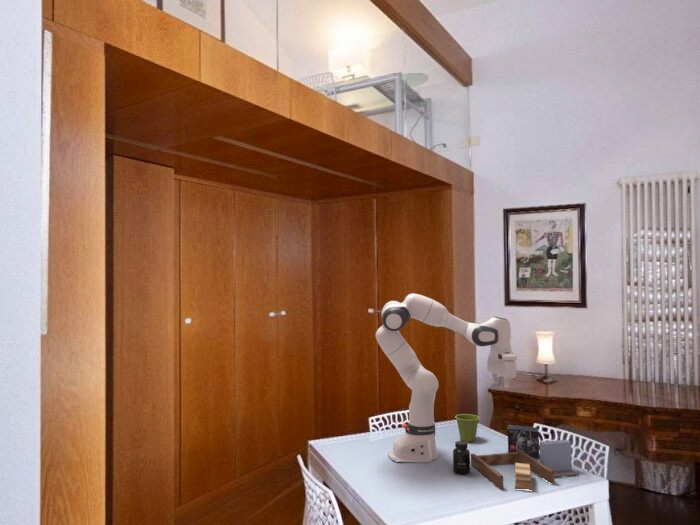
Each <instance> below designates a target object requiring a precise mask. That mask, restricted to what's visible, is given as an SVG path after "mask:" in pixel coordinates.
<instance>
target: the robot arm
mask: <svg viewBox="0 0 700 525" xmlns="http://www.w3.org/2000/svg"><path fill="white" fill-rule="evenodd" d="M380 316H381V323H382V325H381V326H380V327H378V329H377V331H376V332H375V339H376V341H377V343H378V345H379V347H380V348H381V350H382V352H384V354H385V356H386V357H387V358H388V360H389V361H390V362H391V364H392V365H393V366H394V368H395V369H396V371H397V373H398V374H399V376H400V378H402V380H403V382H404V383H405V385H406V386H407V388H409V389H411V397H410V402H409V405H408V415H409V416H408V420H409V421H408V423H405V422H403V423H402V424H401V427H402V428H403V429H404V430H405V431H404V432H403V433H402V434H401V435H400V436H399V437H397V438H396V439H395V440H394V441H393V444H392V449H391V450H389V451H388V452H387V456H388V455H389V457H390V458H391V459H393V460H394V461H397V462H415V463H431V462H433V460H435V459H437V458H438V457H439V453H438V449H437V445H436V443H437V442H436V424H435V421H434V420H435V416H434V415H435V413H434V409H435V407H434V406H435V400H436V395H437V394H436V393H437V391H438V389H439V380H438V378H437V377H436V376H435V374H434V373H433V372H431V371H430V370H428V369H426V368H425V367H424V366H423V365H422V363H421V362H420V360H419V359H418V357H417V354H416V352H415V351H414V349H413V348H412V347H411V346H410V344H409V343H408V342H407V340H406V339H405V337H404V336H403V335H402V334H401V332H400V330H402V329H403V328H404V327H405V326H406V325H407V324H408V322H409V321H410V320H411V319H415V320H418V321H419V322H421V323H423V324H425V325H429V326H433V327H436V328H439V327H442V328H446V329H450V330H451V331H453V332H456V333H458V334H460V335H461V336H463V338H464V339H465V340H466V341H467V342H468V343H469V344H472V345H475V346H477V347H487V346H489V347H490V351H489V352H490V353H489V354H488V357H487V363H486V370H487V372H489V373H490V374H491V376H492V382H493V384H495V385H498V384H499V378H498V376H500V377H503V378H504V383H502V384H503V388H505V389H509V387H510V382H511V379H515V378H517V377H516V376H517V362H516V361H517V359H518V356H517V355H516V354H515V353H514V352H513V350H512V345H511V338H512V329H511V328H512V327H511V322H510V321H509V320H508V319H507V318H504V317H498V316H492V317H491V318H490V319H488V320H485V321H484V322H482V323H480V322H475V321H473V322H471V321H470V322H468V321H466V320H463V319H462V318H459V317H457V316H455V315H453V314H452V313H451V312H449V310H448V309H447V308H446V306H444V305H443V304H442V303H440V302H438V301H437V300H435V299H433V298H431V297H428V296H425V295H422V294H419V293H409V294H407V295H406V296H405V298H404V300H403V301H402V302H400V300H397V299H391V300H390V299H389V300H388V301H386V302H385V303H384V304H383V306H382V310H381V313H380ZM389 457H388V458H389ZM390 458H389V459H390ZM391 459H390V460H391ZM394 461H393V462H394ZM397 462H396V463H397Z"/></svg>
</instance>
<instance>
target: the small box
mask: <svg viewBox="0 0 700 525" xmlns="http://www.w3.org/2000/svg"><path fill="white" fill-rule="evenodd" d="M539 437H540V436H539V427H537V426H527V425H526V426H522V425H513V424H512V425H511V424H508V426H507V453H513V452H516V450H521V451H523V452H524V453H526V454H528V455H529V456H531V457H532V458H534V459H536V458H538V460H539V459H540V438H539Z"/></svg>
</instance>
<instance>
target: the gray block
mask: <svg viewBox="0 0 700 525" xmlns="http://www.w3.org/2000/svg"><path fill="white" fill-rule="evenodd" d="M571 443H572V442H571V441H569V440H568V439H560V440H559V439H558V440H545V441H539V459H540V460H539V462H541V463H542V464H544V465H545V466H547V467H549V468H550V469H552V470H554V471H560V470H570V469H572V470H573V467H572V463H573V462H572V444H571Z"/></svg>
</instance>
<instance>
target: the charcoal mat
mask: <svg viewBox="0 0 700 525" xmlns="http://www.w3.org/2000/svg"><path fill="white" fill-rule="evenodd" d="M573 475H579V476H580V473H579V472H578V471H575V470H574V469H573V468H572V469H570V470H560V471H554V477H559V478H563V477H562V476H569V477H574V476H573Z"/></svg>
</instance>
